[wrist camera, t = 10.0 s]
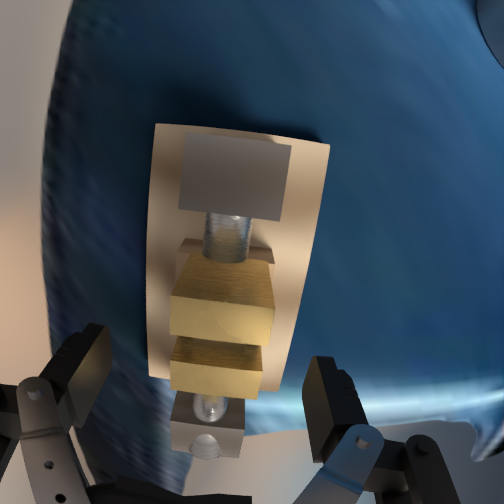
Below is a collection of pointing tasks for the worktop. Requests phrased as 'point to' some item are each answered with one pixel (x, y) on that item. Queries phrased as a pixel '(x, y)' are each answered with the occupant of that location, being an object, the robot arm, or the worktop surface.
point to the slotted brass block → (220, 326)
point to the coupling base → (260, 248)
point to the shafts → (227, 251)
